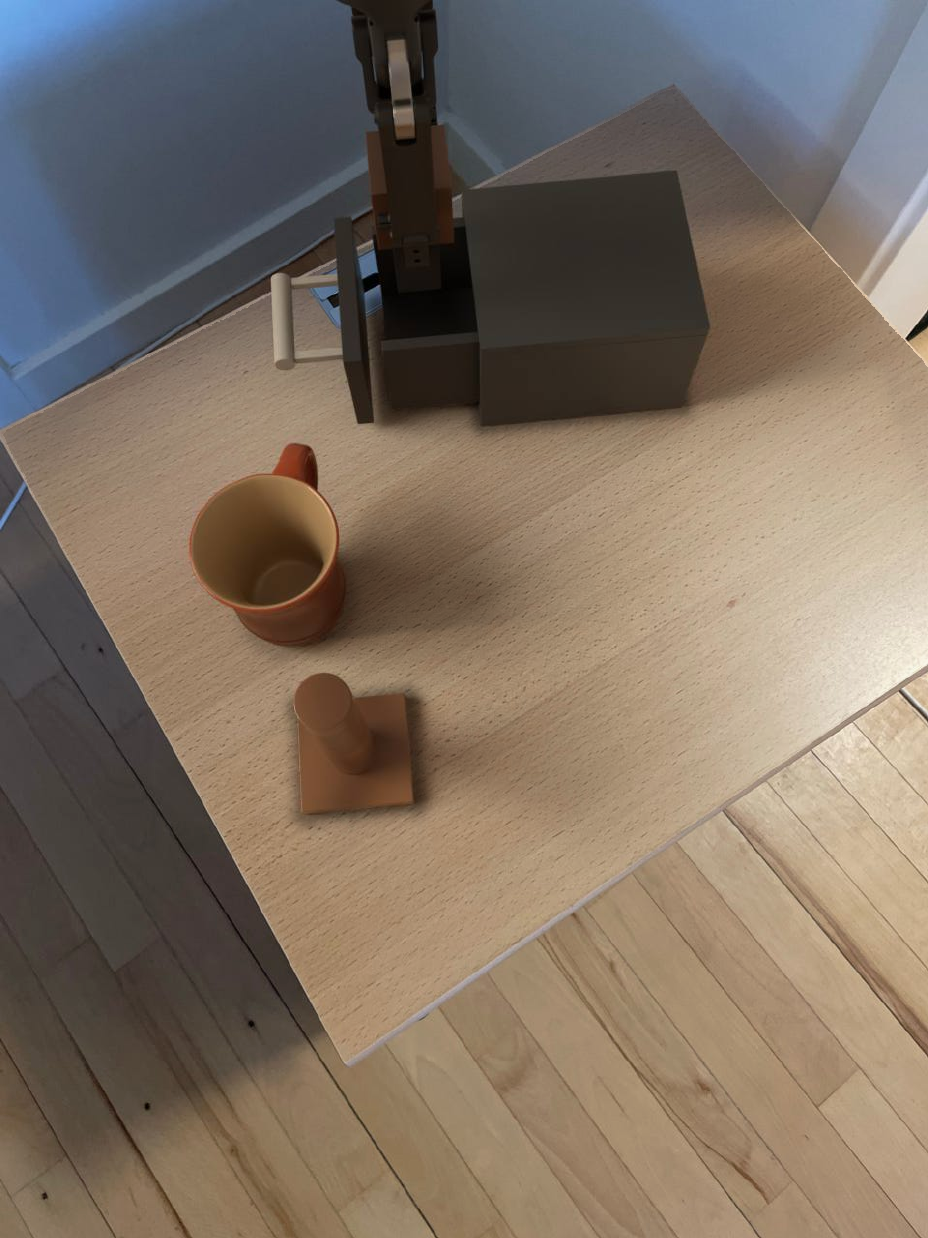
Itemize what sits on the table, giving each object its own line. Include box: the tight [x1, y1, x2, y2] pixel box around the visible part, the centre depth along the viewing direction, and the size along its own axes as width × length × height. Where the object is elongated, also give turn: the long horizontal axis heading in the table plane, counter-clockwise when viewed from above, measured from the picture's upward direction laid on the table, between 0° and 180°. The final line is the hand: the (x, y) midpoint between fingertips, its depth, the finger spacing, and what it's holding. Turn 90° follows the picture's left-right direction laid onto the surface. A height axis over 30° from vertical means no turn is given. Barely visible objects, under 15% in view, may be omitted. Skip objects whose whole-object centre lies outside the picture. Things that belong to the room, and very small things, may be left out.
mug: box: [188, 442, 347, 648], centre depth 63 cm, size 12×9×10 cm
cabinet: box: [461, 169, 711, 427], centre depth 69 cm, size 15×13×10 cm
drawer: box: [270, 216, 480, 425], centre depth 68 cm, size 18×11×8 cm, turn 96°
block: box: [364, 124, 454, 250], centre depth 57 cm, size 4×4×4 cm
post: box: [292, 672, 415, 815], centre depth 57 cm, size 7×7×14 cm
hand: (416, 251), depth 62 cm, fingers closed on block, 4 cm apart
